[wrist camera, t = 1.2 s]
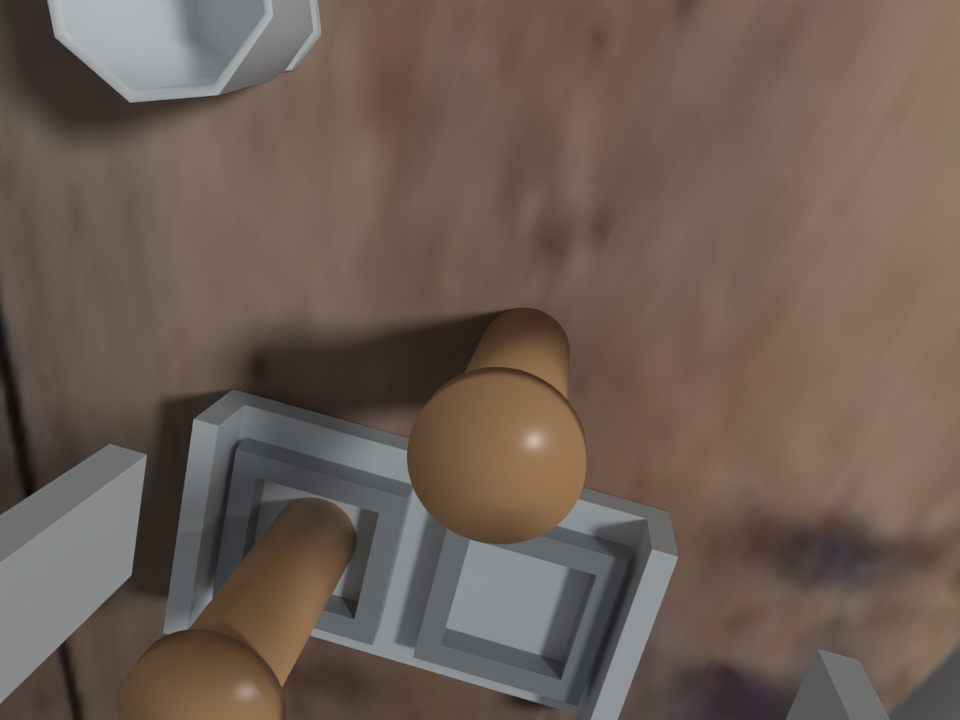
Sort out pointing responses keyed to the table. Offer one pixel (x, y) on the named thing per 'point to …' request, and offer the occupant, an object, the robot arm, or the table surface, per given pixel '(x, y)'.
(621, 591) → the tray
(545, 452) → the tan ball-headed post
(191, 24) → the cup
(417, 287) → the table surface
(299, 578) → the rounded wooden peg
